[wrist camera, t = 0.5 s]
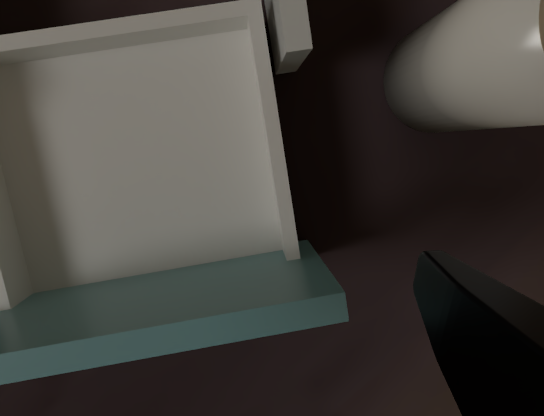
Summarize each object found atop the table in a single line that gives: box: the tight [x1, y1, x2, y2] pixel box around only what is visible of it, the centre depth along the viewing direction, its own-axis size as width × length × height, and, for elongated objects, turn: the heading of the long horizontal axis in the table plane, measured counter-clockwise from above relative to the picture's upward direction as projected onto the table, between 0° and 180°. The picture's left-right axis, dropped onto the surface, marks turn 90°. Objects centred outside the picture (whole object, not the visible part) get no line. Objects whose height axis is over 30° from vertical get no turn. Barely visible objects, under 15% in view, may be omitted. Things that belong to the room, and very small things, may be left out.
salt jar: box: [383, 0, 544, 133], centre depth 16 cm, size 5×5×12 cm
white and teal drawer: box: [0, 0, 349, 385], centre depth 17 cm, size 12×15×8 cm
